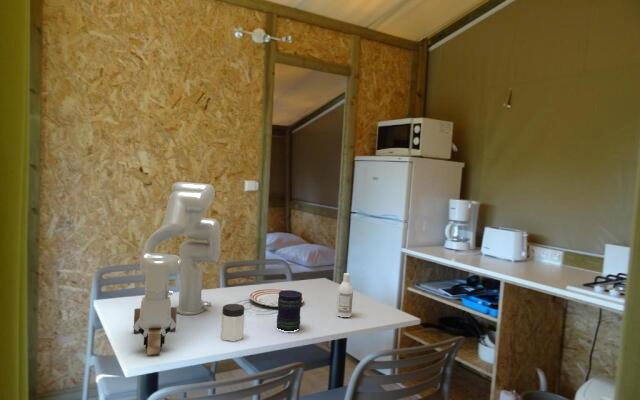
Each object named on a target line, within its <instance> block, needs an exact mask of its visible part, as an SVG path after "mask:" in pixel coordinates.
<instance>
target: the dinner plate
mask: <svg viewBox="0 0 640 400" xmlns="http://www.w3.org/2000/svg"><path fill="white" fill-rule="evenodd" d="M284 290H285V289H283V288H282V289H281V288H261V289H256V290H253V291H251V292H250V293H249V294H248V298H249V299H250V300H251V301H253V302H254V303H256V304H258V305H261V306H263V305H265V306H264V307H267V306H271V307H270V308H275V307H278V305H268V304H263V303H260V302H259V299H260V298H263V297H265V296H268V295H279V292H280V291H284ZM304 301H305V298H304V296H303V295H302V303H304Z"/></svg>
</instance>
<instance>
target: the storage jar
mask: <svg viewBox="0 0 640 400" xmlns="http://www.w3.org/2000/svg"><path fill="white" fill-rule="evenodd" d="M283 290H284V291H280V292H279V297H278V308H277V311H278V312H277V316H276V327H277V328H278V329H281V330H284V331H294V330H297V329H299V328H300V327H301V308H302V303H303V302H302V296H303V293H302V292H300V291H298V290H292V289H290V290H289V289H283Z"/></svg>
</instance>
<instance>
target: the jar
mask: <svg viewBox="0 0 640 400" xmlns="http://www.w3.org/2000/svg"><path fill="white" fill-rule="evenodd" d="M220 327H221V328H220V337H221V340H222V341H225V340H230V341H229V342H232V341H234V342H237V341H240V340H239V339H241V340H243V339H244V329H245V306H244V305H242V304H239V303H228V304H225V305H223V306H222V312H221V326H220ZM242 338H243V339H242ZM236 340H237V341H236Z"/></svg>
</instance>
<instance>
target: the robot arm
mask: <svg viewBox="0 0 640 400" xmlns="http://www.w3.org/2000/svg"><path fill="white" fill-rule="evenodd" d="M215 196H216V191H215V188H214V186H213V185H212V184H210V183H199V182H189V181H177V182H174V183H173V184H172V185H171V193H170V195H169V198H168V201H167V205H166V209H165V213H164V217H163V221H162V224H161V226H160V227H159V228H158V229H156V230H155V231H154V232H153V233H152V234H151V235H150V236H149V237H148V238H147V240H146V241H145V243H144V245H143V248H142V252H141V256H140V261H139V269H140V271H141V273H143V274H145V281H144V297H142V299H141V302H140V318H139V319H138V320H137V322H136V323H135V324H134V323H133V326H132V329H133V330H134V329H135V330H137V331H139V332H140V333H139V334H141V336H143V346H145V349H147V347H148V330H149V328H161V341H160V348H163V345H165V343H166V341H165V339H166V338H165V337H166V335H167V334H168V333H170V332H169V331H170V330H171V329H173V328H174V327H177V322H176V323H175V322H174V320H173V319H172V317H171V307H172V302H171V297H170V296H172V295H173V290H170V289H169V281H170V280H169V279H170V277H174V276H176V275H177V274H178V275H179V289H178V290H179V292H178V293H179V294H178V305H176V306H175V307H176V308H177V313H176V314H179V315H186V316H189V315H191V316H192V315H198V314H202V313H203V312H204V311H205V307H206V308H207V307H208V308H209V307H212V306H213V305H212V302H211V301H210V302H209V301H208V300H207V301H203V299H202V292H203V291H202V289H203V274H204V273H203V268H202V267H201V265H200V264H199V263H204V264H216V263H217V262H219V259H220V255H221V225H220V222H219V221H218V220H217V219H216V218H210V217H209V218H207V217H204V216H203V214H204V213H206V212H207V211H208V209H209V208H210V206H211V205H212V204H213V202H214V200H215ZM180 235H182V236H183V237H185V238H186V239H189V240H184V241H182V242H181V244H180V245H179V249H178V252H179V253H178V254H179V255H177V254H168V253H167V254H166V253H157V252H156V253H155V252H154V251H155V249H156V248H157V246H159V245H160V244H161V243H162V242H164V241H167V240H169V239H172V238H174V237H178V236H180ZM170 323H171V325H170ZM139 326H140V327H139Z"/></svg>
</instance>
